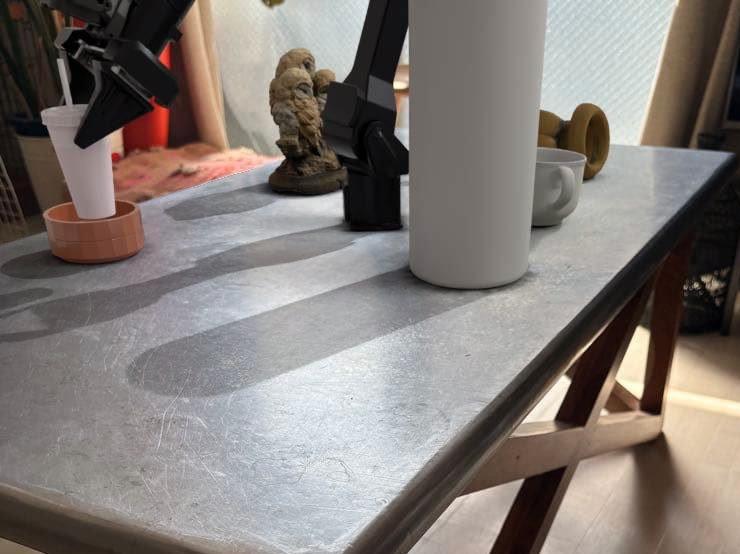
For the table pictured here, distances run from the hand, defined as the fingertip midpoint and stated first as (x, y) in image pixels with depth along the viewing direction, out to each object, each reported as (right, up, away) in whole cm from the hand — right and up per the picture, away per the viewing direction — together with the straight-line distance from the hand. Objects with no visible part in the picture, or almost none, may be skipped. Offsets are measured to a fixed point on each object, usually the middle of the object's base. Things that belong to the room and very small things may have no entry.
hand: (67, 140), depth 85 cm
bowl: (-2, -6, +15) cm, 16 cm away
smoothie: (+1, -5, +5) cm, 7 cm away
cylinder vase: (+39, -10, +8) cm, 41 cm away
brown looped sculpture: (+49, +16, +46) cm, 69 cm away
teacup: (+49, 0, +23) cm, 54 cm away
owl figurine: (+19, +13, +42) cm, 48 cm away
